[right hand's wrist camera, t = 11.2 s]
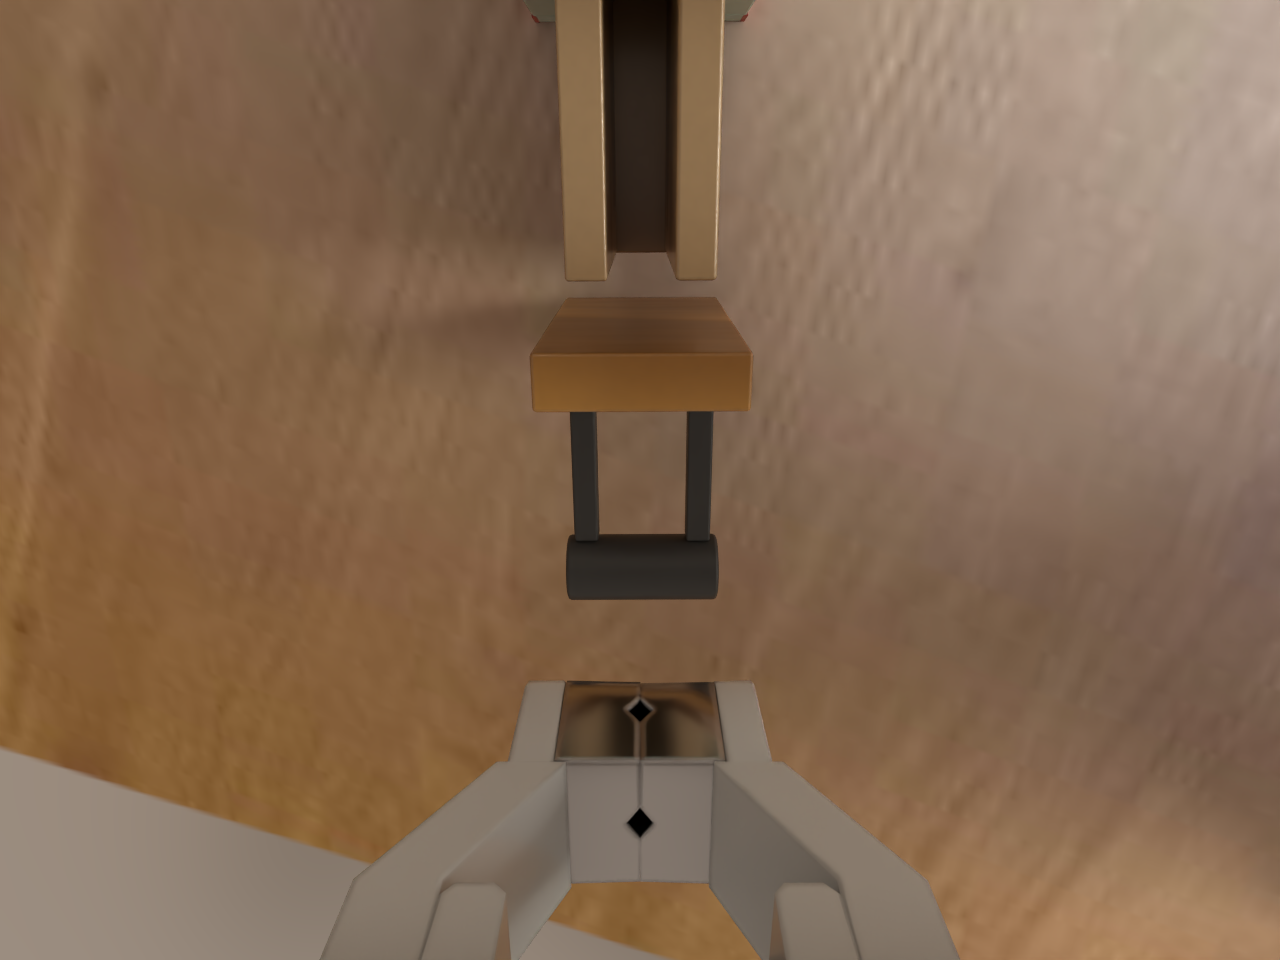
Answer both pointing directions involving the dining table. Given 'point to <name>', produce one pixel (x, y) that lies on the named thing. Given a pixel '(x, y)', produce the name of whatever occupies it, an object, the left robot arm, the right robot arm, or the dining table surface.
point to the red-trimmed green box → (543, 10)
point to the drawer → (628, 223)
